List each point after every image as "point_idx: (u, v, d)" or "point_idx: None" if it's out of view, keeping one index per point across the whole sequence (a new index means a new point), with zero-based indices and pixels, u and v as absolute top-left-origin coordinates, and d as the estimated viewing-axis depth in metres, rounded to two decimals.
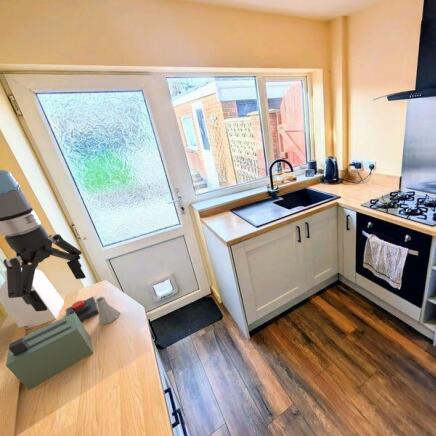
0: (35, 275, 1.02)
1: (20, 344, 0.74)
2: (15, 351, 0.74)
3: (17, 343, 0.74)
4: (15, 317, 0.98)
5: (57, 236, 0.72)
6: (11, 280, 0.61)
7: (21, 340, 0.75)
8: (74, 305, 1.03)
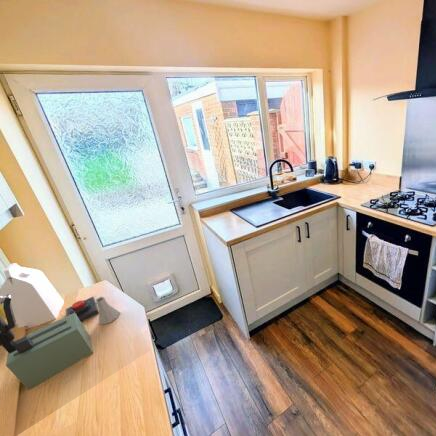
0: (35, 275, 1.02)
1: (25, 342, 0.75)
2: (20, 349, 0.74)
3: (22, 341, 0.75)
4: (15, 317, 0.98)
5: (6, 300, 0.70)
6: None
7: (25, 338, 0.76)
8: (74, 305, 1.03)
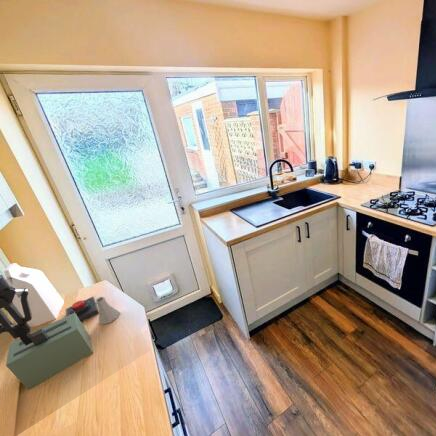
0: (35, 275, 1.02)
1: (40, 334, 0.77)
2: (36, 341, 0.77)
3: (37, 333, 0.77)
4: None
5: (23, 293, 0.72)
6: None
7: (41, 331, 0.78)
8: (74, 305, 1.03)
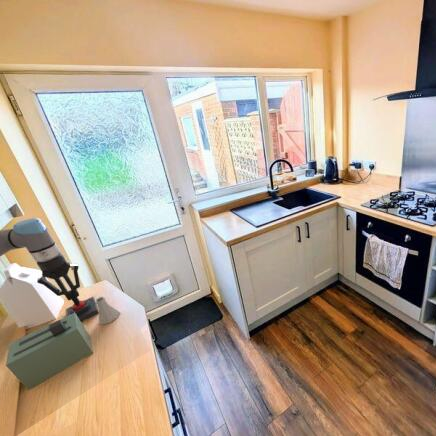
0: (35, 275, 1.02)
1: (59, 325, 0.80)
2: (55, 332, 0.79)
3: (56, 324, 0.79)
4: (15, 317, 0.98)
5: (75, 266, 0.99)
6: None
7: (59, 322, 0.80)
8: (74, 305, 1.03)
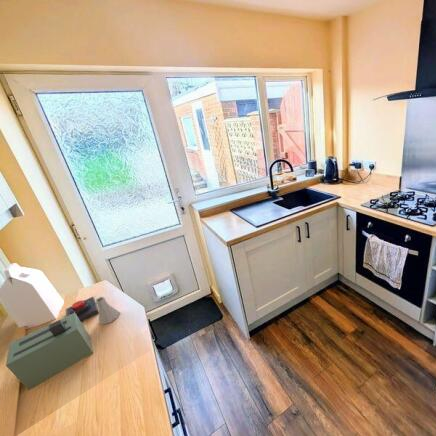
0: (35, 275, 1.02)
1: (59, 325, 0.80)
2: (55, 332, 0.79)
3: (56, 324, 0.79)
4: (15, 317, 0.98)
5: None
6: None
7: (59, 322, 0.80)
8: (74, 305, 1.03)
